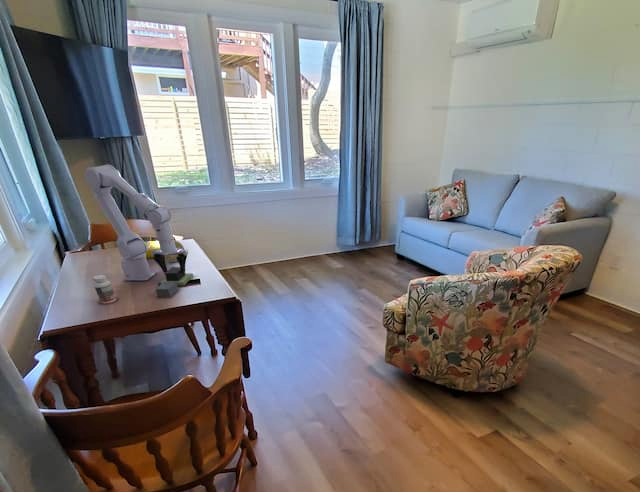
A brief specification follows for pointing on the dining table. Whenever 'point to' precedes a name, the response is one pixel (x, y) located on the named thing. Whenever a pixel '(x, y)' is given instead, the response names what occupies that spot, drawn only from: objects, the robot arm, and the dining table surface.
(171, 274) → the black rectangular block
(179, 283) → the base pad
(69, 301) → the dining table surface
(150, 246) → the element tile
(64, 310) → the dining table surface
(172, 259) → the stone disc
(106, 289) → the pill bottle
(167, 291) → the grey block
